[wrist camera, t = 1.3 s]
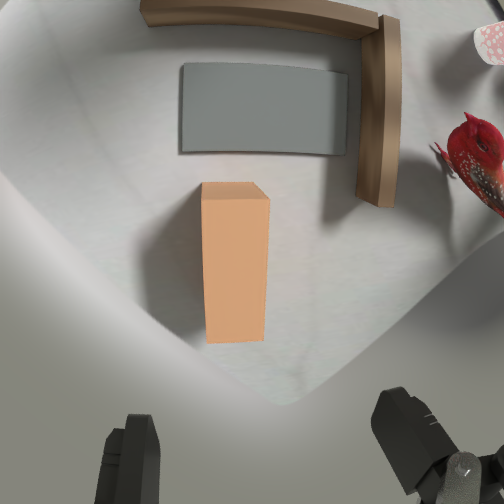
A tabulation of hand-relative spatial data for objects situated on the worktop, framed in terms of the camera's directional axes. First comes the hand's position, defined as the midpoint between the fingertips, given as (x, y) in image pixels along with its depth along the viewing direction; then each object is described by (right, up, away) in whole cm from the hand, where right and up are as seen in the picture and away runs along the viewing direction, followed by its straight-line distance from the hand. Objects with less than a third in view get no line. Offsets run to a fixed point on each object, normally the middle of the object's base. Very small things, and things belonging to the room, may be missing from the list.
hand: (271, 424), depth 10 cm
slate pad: (+1, +17, +14) cm, 22 cm away
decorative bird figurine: (+20, +14, +18) cm, 30 cm away
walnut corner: (+1, +17, +14) cm, 22 cm away
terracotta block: (-3, +7, +17) cm, 19 cm away
